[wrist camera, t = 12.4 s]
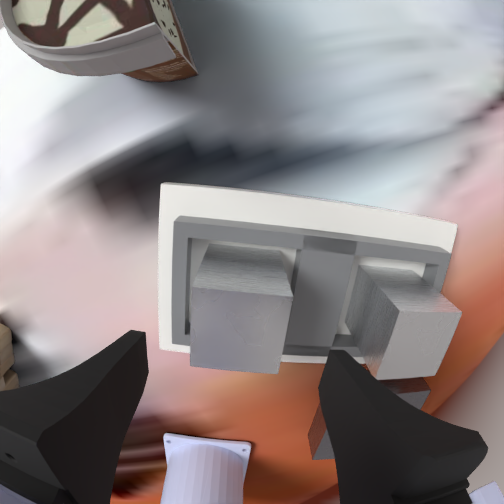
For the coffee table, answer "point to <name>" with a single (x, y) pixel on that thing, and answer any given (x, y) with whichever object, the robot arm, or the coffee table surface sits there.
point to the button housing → (405, 388)
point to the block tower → (7, 361)
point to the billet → (239, 310)
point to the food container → (101, 37)
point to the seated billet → (399, 322)
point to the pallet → (291, 256)
